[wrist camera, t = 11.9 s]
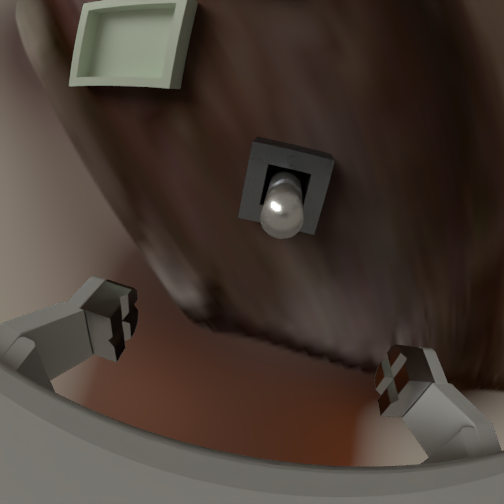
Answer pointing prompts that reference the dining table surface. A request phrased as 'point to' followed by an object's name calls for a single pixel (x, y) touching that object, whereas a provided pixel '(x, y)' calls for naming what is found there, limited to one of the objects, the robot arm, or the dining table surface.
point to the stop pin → (283, 204)
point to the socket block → (291, 158)
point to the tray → (132, 43)
